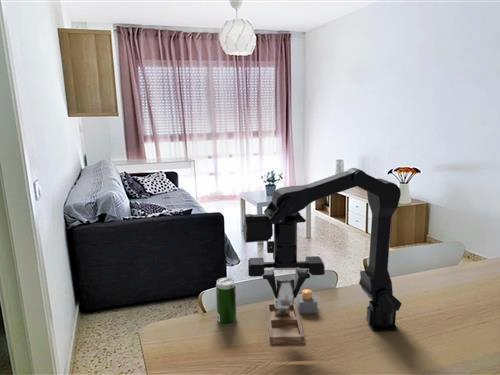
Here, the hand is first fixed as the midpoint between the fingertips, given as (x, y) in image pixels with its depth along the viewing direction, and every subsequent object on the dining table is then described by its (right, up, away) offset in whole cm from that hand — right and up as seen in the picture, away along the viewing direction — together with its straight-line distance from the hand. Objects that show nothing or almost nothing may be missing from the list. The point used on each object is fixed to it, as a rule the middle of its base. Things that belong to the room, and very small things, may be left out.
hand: (285, 297), depth 98 cm
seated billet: (0, -8, +10) cm, 13 cm away
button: (+7, -4, +13) cm, 15 cm away
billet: (0, -1, 0) cm, 1 cm away
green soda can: (-15, -9, +9) cm, 20 cm away
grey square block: (+7, -8, +14) cm, 17 cm away
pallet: (0, -9, +6) cm, 11 cm away
